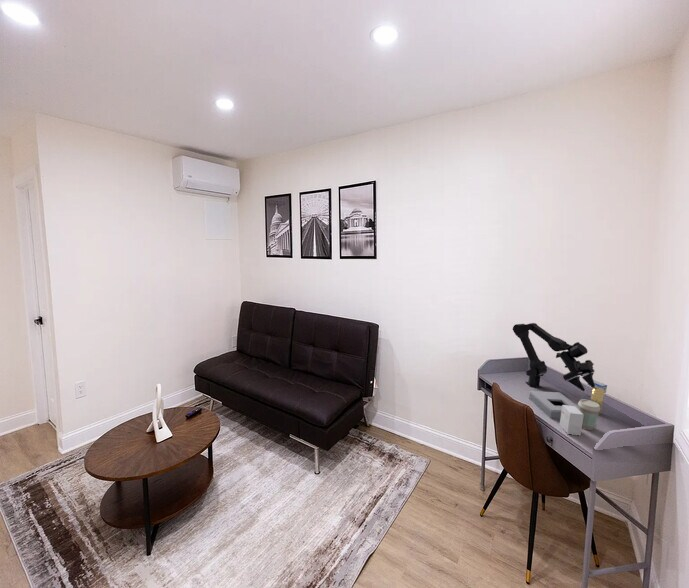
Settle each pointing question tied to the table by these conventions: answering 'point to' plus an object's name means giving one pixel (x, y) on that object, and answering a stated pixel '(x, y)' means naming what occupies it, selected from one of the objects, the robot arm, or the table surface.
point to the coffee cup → (589, 413)
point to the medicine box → (600, 385)
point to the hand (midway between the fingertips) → (589, 389)
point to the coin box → (547, 407)
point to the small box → (571, 420)
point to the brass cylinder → (597, 396)
